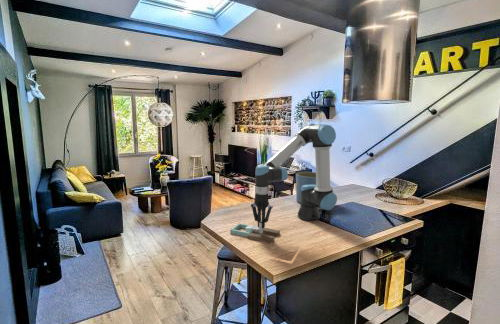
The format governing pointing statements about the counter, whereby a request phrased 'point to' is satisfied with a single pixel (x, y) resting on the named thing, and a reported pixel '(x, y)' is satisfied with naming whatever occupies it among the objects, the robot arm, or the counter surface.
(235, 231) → the tray
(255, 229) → the grey wood-grain cube
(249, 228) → the grey cube-shaped block
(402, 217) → the counter surface
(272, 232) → the slot board
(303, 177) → the planter
